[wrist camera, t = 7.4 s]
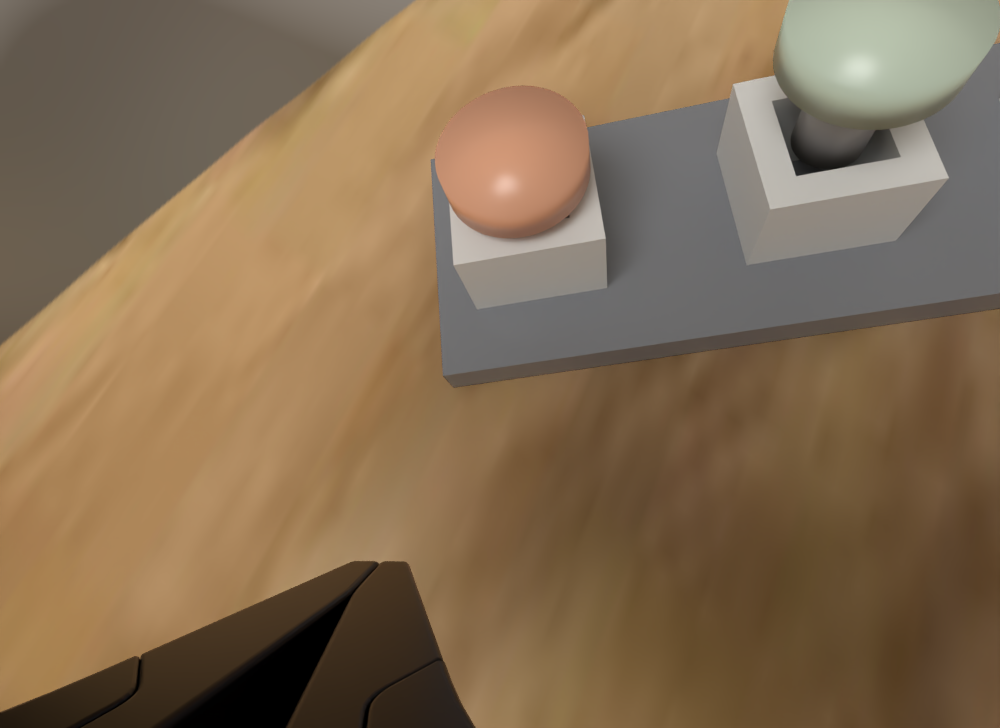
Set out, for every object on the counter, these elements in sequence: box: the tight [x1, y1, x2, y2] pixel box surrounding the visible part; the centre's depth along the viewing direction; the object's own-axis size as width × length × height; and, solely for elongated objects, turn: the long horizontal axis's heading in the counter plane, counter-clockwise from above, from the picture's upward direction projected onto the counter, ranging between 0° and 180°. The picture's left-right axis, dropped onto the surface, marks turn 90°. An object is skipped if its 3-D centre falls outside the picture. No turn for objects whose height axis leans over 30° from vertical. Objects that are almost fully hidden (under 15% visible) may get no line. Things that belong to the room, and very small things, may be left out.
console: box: [431, 43, 1000, 387], centre depth 21 cm, size 10×28×5 cm, turn 95°
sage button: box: [773, 0, 1000, 169], centre depth 17 cm, size 5×5×5 cm
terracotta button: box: [435, 86, 591, 238], centre depth 20 cm, size 5×5×5 cm
